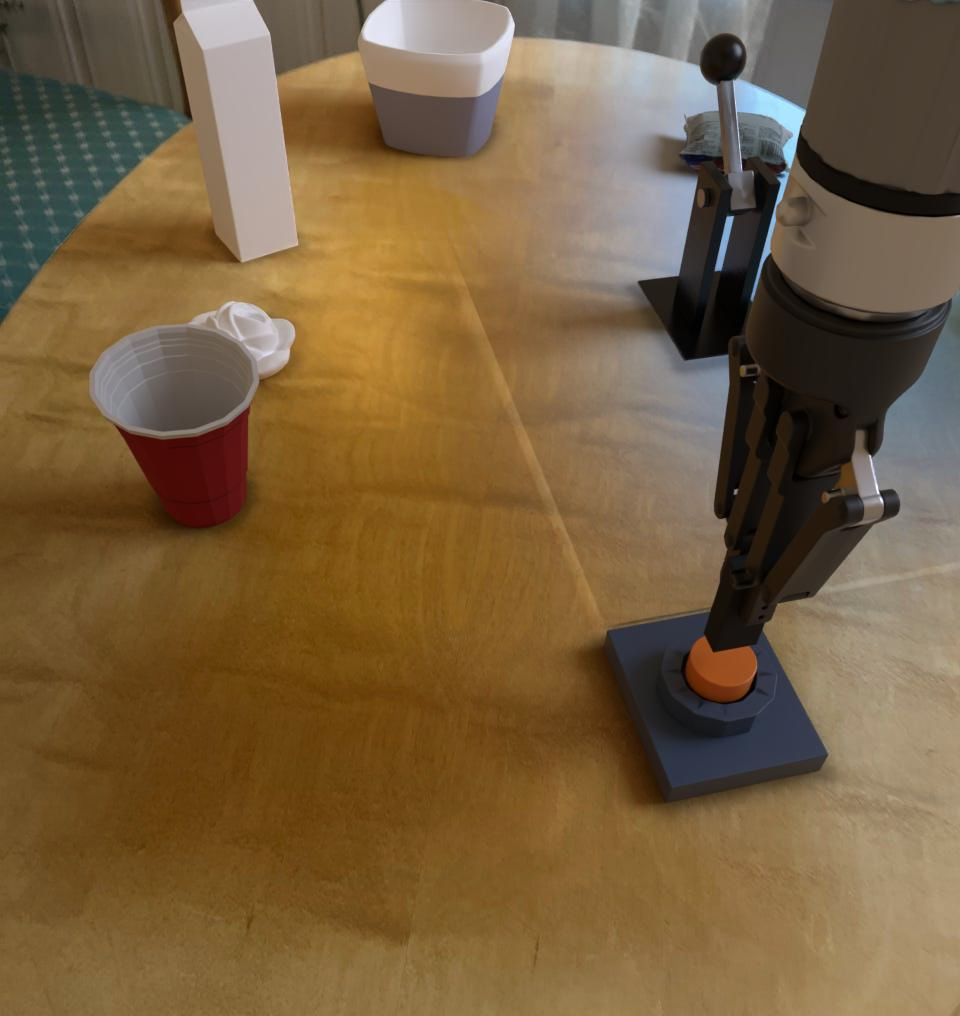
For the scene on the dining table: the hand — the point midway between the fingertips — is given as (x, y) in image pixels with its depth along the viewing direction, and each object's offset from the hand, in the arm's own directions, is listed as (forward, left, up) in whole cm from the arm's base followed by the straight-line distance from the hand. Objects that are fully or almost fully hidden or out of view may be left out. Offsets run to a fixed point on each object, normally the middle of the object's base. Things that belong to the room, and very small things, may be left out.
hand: (730, 638), depth 58 cm
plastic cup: (+37, -12, -8) cm, 40 cm away
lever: (+3, -47, +7) cm, 47 cm away
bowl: (+31, -72, -8) cm, 79 cm away
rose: (+40, -30, -8) cm, 51 cm away
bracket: (+1, -42, -7) cm, 43 cm away
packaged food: (-1, -72, -8) cm, 72 cm away
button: (0, 0, -4) cm, 4 cm away
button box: (0, 0, -7) cm, 7 cm away
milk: (+44, -47, -8) cm, 65 cm away
